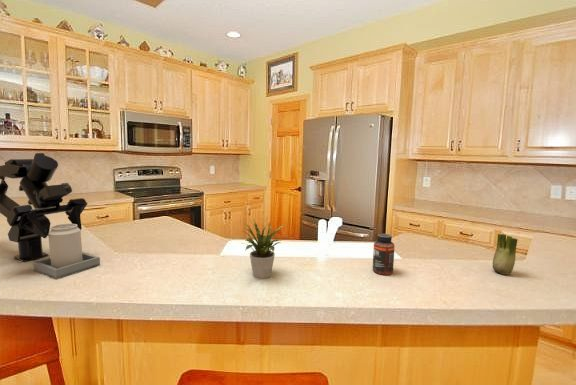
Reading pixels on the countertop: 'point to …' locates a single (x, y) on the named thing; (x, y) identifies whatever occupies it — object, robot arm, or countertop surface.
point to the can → (65, 245)
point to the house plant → (262, 251)
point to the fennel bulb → (505, 254)
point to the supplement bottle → (383, 255)
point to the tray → (55, 273)
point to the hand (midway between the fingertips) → (64, 233)
